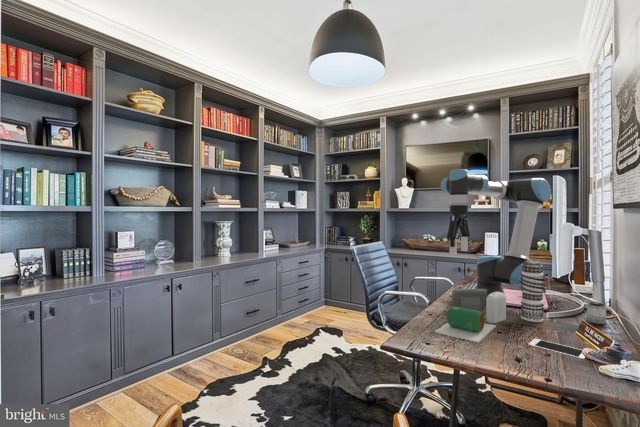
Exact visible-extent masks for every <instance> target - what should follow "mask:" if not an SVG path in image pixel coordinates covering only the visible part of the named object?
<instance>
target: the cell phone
mask: <svg viewBox="0 0 640 427" xmlns="http://www.w3.org/2000/svg"><path fill="white" fill-rule="evenodd" d="M527 345H528V346H532V347H536V348H539V349H543V350H547V351H550V352H554V353H557V354H561V355H566V356H570V357H573V358H577V359H581V360H584V359H585V358H586V357H585V356H584V355H583V354H582V350H583V349H579V348H576V347H572V346H568V345H564V344H560V343H555V342H550V341H547V340H542V339H538V338H533V339H532V340H531V341H530V342H528V343H527Z"/></svg>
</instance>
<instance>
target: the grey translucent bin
mask: <svg viewBox="0 0 640 427" xmlns="http://www.w3.org/2000/svg"><path fill="white" fill-rule="evenodd" d="M486 295H487V290H486V289H476V288H455V289H453V290H452V292H451V297H450V298H451V299H450V307H453V306H455V307H461V308H466V309H471V310H477V311H480V312H481V313H482V312H483V310H484V309H485V306H486V303H485V300H486ZM450 307H449V308H450Z"/></svg>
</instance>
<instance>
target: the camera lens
mask: <svg viewBox="0 0 640 427" xmlns="http://www.w3.org/2000/svg"><path fill="white" fill-rule="evenodd" d="M586 318H587V321H588V322H589V323H593V324H600V325H604V324H606V320H607V306H606V305H605V304H604V303H601V302H596V301H591V302H588V303H587V304H586Z"/></svg>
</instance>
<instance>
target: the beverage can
mask: <svg viewBox="0 0 640 427" xmlns="http://www.w3.org/2000/svg"><path fill="white" fill-rule="evenodd" d="M446 322H447V323H448V324H449V325H451V326H452V327H457V328H461V329H466V330H470V331H474V332H479V331H482V330H483V327H484V323H485V315H484V313H481V312H480V311H477V310H471V309H466V308H461V307H455V306H453V307H449V308H448V310H447V314H446Z"/></svg>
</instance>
